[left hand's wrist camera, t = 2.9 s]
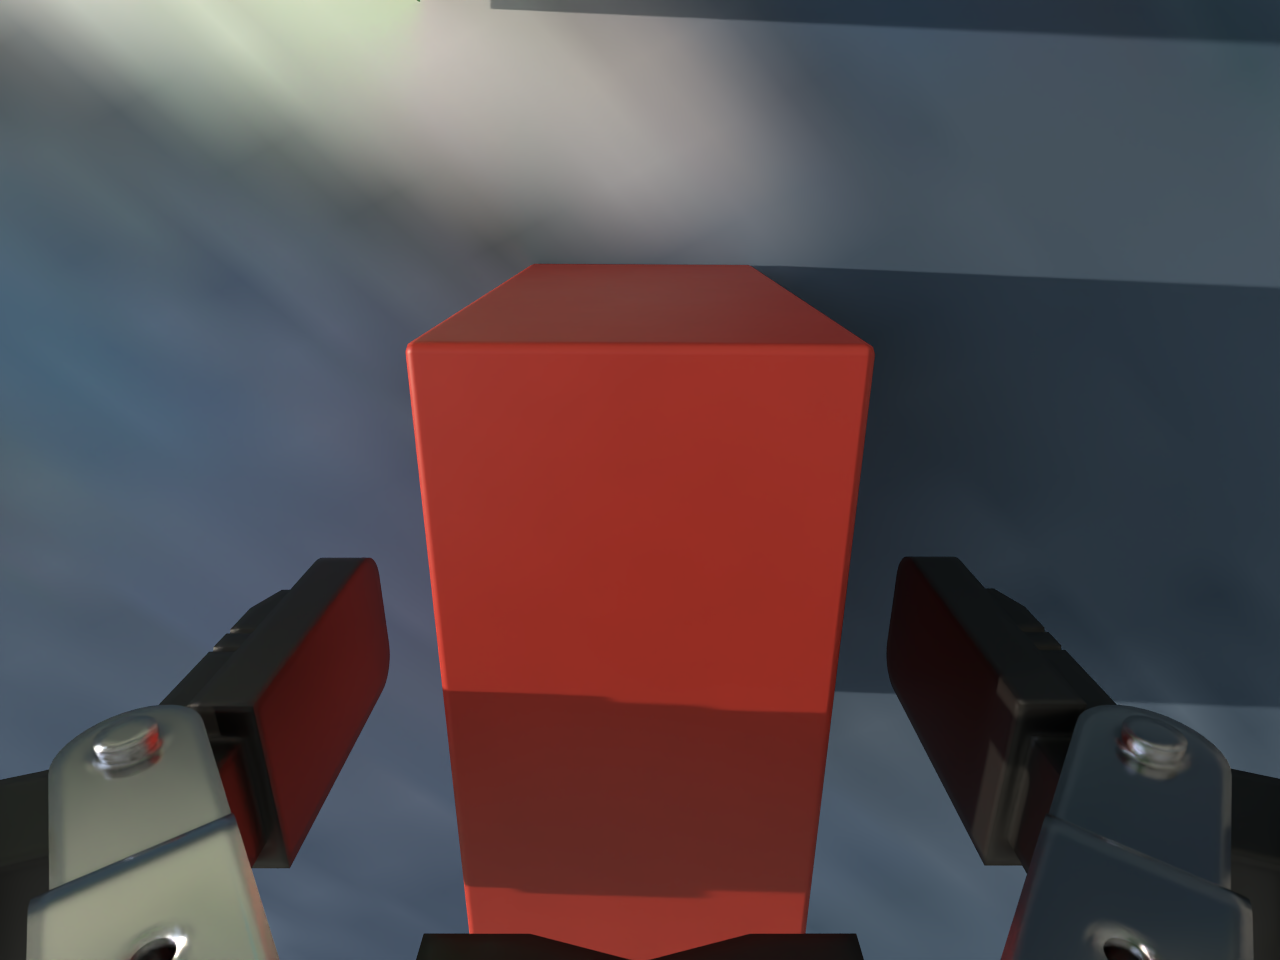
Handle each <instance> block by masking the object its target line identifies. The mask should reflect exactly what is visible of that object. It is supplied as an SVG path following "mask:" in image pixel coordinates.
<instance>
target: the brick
mask: <svg viewBox="0 0 1280 960" xmlns="http://www.w3.org/2000/svg"><path fill="white" fill-rule="evenodd" d="M874 359H875V353H874V349H873V346H871V345H869V344H868V343H866V342H865V341H863V340H862V339H860V338H859V337H857V336H856V335H854V334H853V333H851V332H850V331H848V330H847V329H845V328H844V327H842V326H841V325H839V324H838V323H836V322H835V321H833V320H832V319H830V318H829V317H827V316H826V315H824V314H823V313H821V312H820V311H818V310H817V309H815V308H814V307H812V306H811V305H809V304H808V303H806V302H805V301H803V300H802V299H800V298H799V297H797V296H795V295H794V294H792V293H791V292H789V291H788V290H786V289H785V288H783V287H782V286H780V285H779V284H777V283H776V282H774V281H773V280H771V279H770V278H768V277H767V276H765V275H764V274H762V273H761V272H759V271H758V270H756V269H755V268H753V267H752V266H749V265H640V264H533V265H531V266H529V267H528V268H526V269H525V270H523V271H522V272H520V273H518V274H517V275H515V276H514V277H512V278H511V279H509V280H508V281H506V282H504V283H503V284H501V285H500V286H498V287H497V288H495V289H493V290H492V291H490V292H489V293H487V294H486V295H484V296H482V297H481V298H479V299H478V300H476V301H475V302H473V303H471V304H470V305H468V306H467V307H465V308H464V309H462V310H461V311H459V312H457V313H456V314H454V315H453V316H451V317H450V318H448V319H446V320H445V321H443V322H442V323H440V324H439V325H437V326H435V327H434V328H432V329H431V330H429V331H428V332H426V333H425V334H423V335H421V336H420V337H418V338H417V339H415V340H414V341H412V342H410V343H409V344H408V346H407V349H406V360H407V369H408V378H409V387H410V396H411V405H412V414H413V423H414V432H415V442H416V451H417V460H418V469H419V478H420V487H421V496H422V505H423V514H424V523H425V533H426V542H427V551H428V560H429V569H430V578H431V587H432V596H433V605H434V614H435V624H436V633H437V642H438V651H439V660H440V669H441V678H442V687H443V696H444V705H445V715H446V724H447V733H448V742H449V751H450V760H451V769H452V778H453V787H454V796H455V806H456V815H457V824H458V833H459V842H460V851H461V860H462V869H463V878H464V887H465V896H466V906H467V915H468V924H469V933H470V934H533V935H537V936H541V937H545V938H549V939H553V940H556V941H560V942H564V943H568V944H572V945H576V946H580V947H583V948H587V949H591V950H595V951H599V952H603V953H607V954H611V955H614V956H618V957H622V958H626V959H631V960H649V959H654V958H658V957H662V956H666V955H669V954H673V953H677V952H681V951H685V950H689V949H693V948H697V947H700V946H704V945H708V944H712V943H716V942H720V941H724V940H727V939H731V938H735V937H739V936H743V935H747V934H805V932H806V923H807V915H808V907H809V899H810V890H811V882H812V874H813V865H814V857H815V849H816V840H817V832H818V824H819V815H820V807H821V799H822V791H823V782H824V774H825V766H826V757H827V749H828V741H829V732H830V724H831V716H832V708H833V699H834V691H835V683H836V674H837V666H838V658H839V649H840V641H841V633H842V625H843V616H844V608H845V600H846V591H847V583H848V575H849V566H850V558H851V550H852V541H853V533H854V525H855V517H856V508H857V500H858V492H859V483H860V475H861V467H862V458H863V450H864V442H865V434H866V425H867V417H868V409H869V400H870V392H871V384H872V375H873V367H874Z"/></svg>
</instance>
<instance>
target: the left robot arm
mask: <svg viewBox="0 0 1280 960" xmlns="http://www.w3.org/2000/svg"><path fill="white" fill-rule="evenodd" d="M230 630H231V632H230V634H226V635H225V636H224V637H223V638H222V639H221V640H220V641H219V642H218V643H217V644H216V645H215V646H214V650H213V652H208V654H207V655H206V656H205V657H204V658H203V659H202V660H201V661H200V662H199V663H198V664H197V665H196V666H195V667H194V668H193V669H192V670H191V671H190V673H189V674H188V675H187V676H186V677H185V678H184V679H183V680H182V681H181V682H180V683H179V684H178V685H177V686H176V687H175V688H174V689H173V690H172V691H171V693H170V694H169V695H168V696H167V697H166V698H165V699H164V700H163V701H162V702H161V703H160V704H159V705H156V706H148V707H143V708H139V709H135V710H131V711H128V712H124V713H122V714H119V715H116V716H113V717H111V718H109V719H106V720H104V721H102V722H100V723H98V724H96V725H94V726H92V727H91V728H89V729H87V730H85V731H84V732H82V733H81V734H79V735H78V736H76V737H75V738H74V739H73V740H71V741H70V742H69V743H68V744H66V745H65V746H64V747H63V748H62V749H61V750H60V751H59V753H58V754H57V755H56V757H55V758H54V759H53V761H52V763H51V766H50V768H49V770H45V771H41V772H36V773H31V774H27V775H22V776H17V777H12V778H7V779H2V780H0V960H279V957H278V954H277V950H276V947H275V944H274V941H273V938H272V934H271V931H270V928H269V925H268V921H267V918H266V915H265V912H264V909H263V905H262V902H261V899H260V896H259V892H258V889H257V886H256V883H255V879H254V876H253V873H252V870H251V868H290V867H291V865H292V863H293V861H294V859H295V857H296V855H297V853H298V851H299V849H300V848H301V846H302V844H303V842H304V840H305V838H306V836H307V834H308V832H309V830H310V828H311V826H312V825H313V823H314V821H315V819H316V817H317V815H318V813H319V811H320V809H321V807H322V805H323V804H324V802H325V800H326V798H327V796H328V794H329V792H330V790H331V788H332V786H333V784H334V782H335V781H336V779H337V777H338V775H339V773H340V771H341V769H342V767H343V765H344V763H345V761H346V759H347V758H348V756H349V754H350V752H351V750H352V748H353V746H354V744H355V742H356V740H357V738H358V737H359V735H360V733H361V731H362V729H363V727H364V725H365V723H366V721H367V719H368V717H369V715H370V714H371V712H372V710H373V708H374V706H375V704H376V702H377V700H378V698H379V696H380V694H381V692H382V691H383V688H384V686H385V683H386V680H387V676H388V670H389V661H390V650H389V641H388V634H387V627H386V620H385V613H384V606H383V598H382V591H381V584H380V577H379V572H378V568H377V565H376V563H375V561H374V560H373V559H372V558H320V559H318V560H317V561H316V562H315V563H314V564H313V565H312V566H311V567H310V568H309V569H308V570H307V572H306V573H305V574H304V575H303V576H302V577H301V578H300V579H299V581H298V582H297V583H296V584H295V585H294V586H293V587H292V588H291V590H281V591H279V592H277V593H276V594H274V595H272V596H271V597H269V598H267V599H265V600H264V601H262V602H260V603H259V604H257V605H255V606H253V607H252V608H250V609H249V610H248V611H247V612H246V613H245V615H244V616H243V617H242V618H241V619H240V620H239V621H238V622H237V623H236V624H235V625H234V626H233V627H232V628H231V629H230ZM887 667H888V673H889V678H890V681H891V684H892V687H893V689H894V691H895V693H896V695H897V697H898V699H899V701H900V702H901V704H902V706H903V708H904V710H905V712H906V714H907V716H908V718H909V720H910V722H911V724H912V726H913V728H914V730H915V732H916V733H917V735H918V737H919V739H920V741H921V743H922V745H923V747H924V749H925V751H926V753H927V755H928V757H929V759H930V761H931V763H932V764H933V766H934V768H935V770H936V772H937V774H938V776H939V778H940V780H941V782H942V784H943V786H944V788H945V790H946V792H947V794H948V795H949V797H950V799H951V801H952V803H953V805H954V807H955V809H956V811H957V813H958V815H959V817H960V819H961V821H962V823H963V825H964V827H965V828H966V830H967V832H968V834H969V836H970V838H971V840H972V842H973V844H974V846H975V848H976V850H977V852H978V854H979V856H980V858H981V859H982V861H983V863H984V865H1022V866H1023V867H1024V869H1025V871H1026V873H1027V876H1026V879H1025V883H1024V886H1023V889H1022V892H1021V896H1020V899H1019V902H1018V905H1017V908H1016V912H1015V915H1014V918H1013V921H1012V925H1011V928H1010V931H1009V934H1008V938H1007V941H1006V944H1005V947H1004V950H1003V954H1002V957H1001V960H1280V779H1278V778H1273V777H1268V776H1263V775H1259V774H1254V773H1249V772H1244V771H1239V770H1234V769H1231V768H1230V766H1229V763H1228V761H1227V759H1226V758H1225V757H1224V755H1223V754H1222V753H1221V751H1220V750H1219V749H1218V748H1217V747H1216V746H1215V745H1214V744H1212V743H1211V742H1210V741H1209V740H1207V739H1206V738H1205V737H1204V736H1202V735H1201V734H1199V733H1198V732H1196V731H1195V730H1193V729H1191V728H1189V727H1188V726H1186V725H1184V724H1182V723H1180V722H1178V721H1176V720H1174V719H1171V718H1169V717H1167V716H1164V715H1161V714H1158V713H1156V712H1152V711H1149V710H1145V709H1141V708H1137V707H1132V706H1124V705H1116V703H1115V702H1114V701H1113V700H1112V699H1111V698H1110V697H1109V696H1108V695H1107V694H1106V693H1105V692H1104V691H1103V690H1102V689H1101V687H1100V686H1099V685H1098V684H1097V683H1096V682H1095V681H1094V680H1093V679H1092V678H1091V677H1090V676H1089V675H1088V674H1087V673H1086V672H1085V670H1084V669H1083V668H1082V667H1081V666H1080V665H1079V664H1078V663H1077V662H1076V661H1075V660H1074V659H1073V658H1072V657H1071V656H1070V655H1069V653H1068V652H1067V651H1066V650H1061V645H1060V644H1059V643H1058V642H1057V641H1056V640H1055V639H1054V638H1053V636H1052V635H1051V634H1050V633H1049V632H1045V631H1044V627H1043V626H1042V625H1041V624H1040V623H1039V622H1038V620H1037V619H1036V618H1035V617H1034V616H1033V615H1032V614H1031V613H1030V612H1029V611H1028V610H1027V609H1026V608H1025V607H1024V606H1022V605H1021V604H1019V603H1017V602H1016V601H1014V600H1012V599H1010V598H1009V597H1007V596H1005V595H1004V594H1002V593H1000V592H998V591H997V590H995V589H985V588H984V587H983V586H982V585H981V583H980V582H979V581H978V580H977V579H976V578H975V577H974V576H973V574H972V573H971V572H970V571H969V570H968V569H967V568H966V566H965V565H964V564H963V563H962V562H961V561H960V560H959V559H958V558H956V557H904V558H903V559H902V560H901V562H900V564H899V567H898V571H897V577H896V584H895V591H894V598H893V605H892V612H891V619H890V627H889V634H888V641H887ZM416 960H631V959H626V958H622V957H618V956H614V955H611V954H607V953H603V952H599V951H595V950H591V949H587V948H583V947H580V946H576V945H572V944H568V943H564V942H560V941H556V940H553V939H549V938H545V937H541V936H537V935H533V934H424V935H423V938H422V942H421V945H420V948H419V952H418V955H417V959H416ZM649 960H864V959H863V955H862V952H861V948H860V945H859V942H858V938H857V935H856V934H747V935H743V936H739V937H735V938H731V939H727V940H724V941H720V942H716V943H712V944H708V945H704V946H700V947H697V948H693V949H689V950H685V951H681V952H677V953H673V954H669V955H666V956H662V957H658V958H654V959H649Z"/></svg>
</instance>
